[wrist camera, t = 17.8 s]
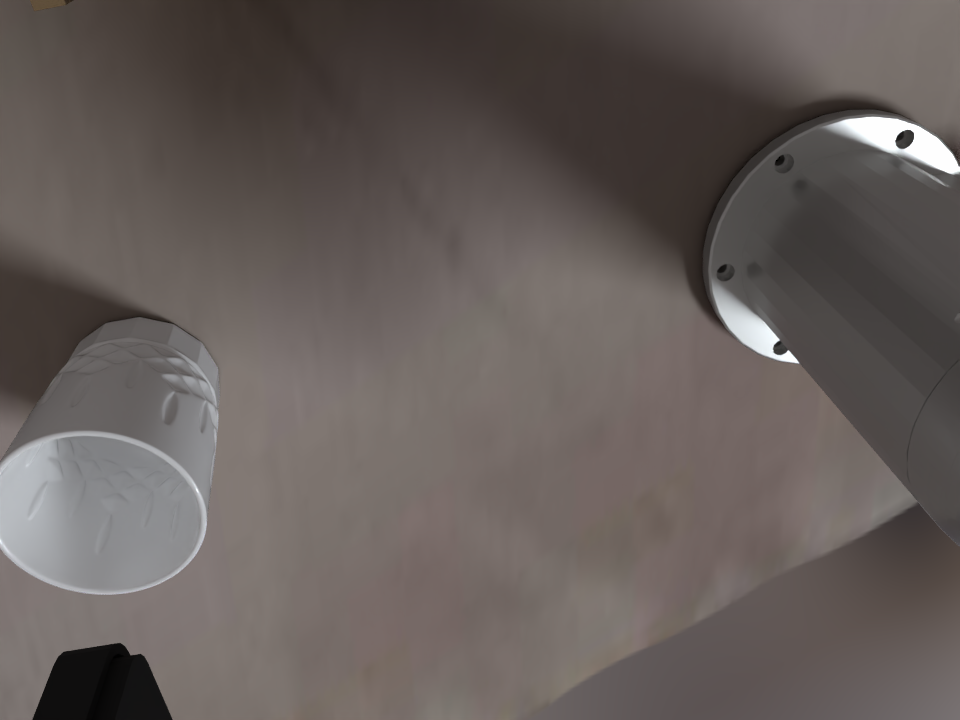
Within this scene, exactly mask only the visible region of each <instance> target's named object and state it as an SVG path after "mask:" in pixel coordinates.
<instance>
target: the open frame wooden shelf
mask: <svg viewBox="0 0 960 720" xmlns="http://www.w3.org/2000/svg"><path fill="white" fill-rule="evenodd" d="M72 1H73V0H30V2H31V4H32V7H33V9H34V11H38V10H43V9H48V8H53V7H58V6H63V5H67V4H68V3H70V2H72Z"/></svg>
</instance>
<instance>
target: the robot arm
mask: <svg viewBox="0 0 960 720" xmlns="http://www.w3.org/2000/svg"><path fill="white" fill-rule="evenodd" d="M779 156H781V157H780V159H779V160H778V161H777V162H775V161H776V160H777V159H778V157H779ZM722 265H723V266H722ZM721 266H722V267H721ZM720 267H721V268H720ZM719 268H720V269H719ZM703 278H704V283H705V288H706V293H707V296H708V299H709V301H710V303H711V305H712V307H713V310H714V312H715V314H716V315H717V316H718V318H719V319H720V321H721V322H722V323H723V325H724V326H725V328H726V329H727V330H728V331H729V332H730V333H731V334H732V335H733V336H734V337H735V338H736V339H737V340H738V341H739V342H740V343H741V344H742V345H744V346H745V347H747V348H749V349H750V350H752V351H753V352H755V353H757V354H758V355H761V356H764V357H766V358H769V359H772V360H775V361H780V362H787V363H794V364H801V365H802V367H803V368H804V369H805V370H806V371H807V372H808V374H809V375H810V376H811V377H812V378H813V379H814V381H815V382H816V383H817V384H818V385H819V386H820V388H821V389H822V390H823V391H824V392H825V394H826V395H827V396H828V397H829V398H830V399H831V401H832V402H833V403H834V404H835V405H836V406H837V408H838V409H839V410H840V411H841V412H842V413H843V415H844V416H845V417H846V418H847V419H848V420H849V422H850V423H851V424H852V425H853V426H854V427H855V429H856V430H857V431H858V432H859V433H860V434H861V436H862V437H863V438H864V439H865V440H866V441H867V443H868V444H869V445H870V446H871V447H872V448H873V450H874V451H875V452H876V453H877V454H878V456H879V457H880V458H881V459H882V460H883V461H884V463H885V464H886V465H887V466H888V467H889V468H890V470H891V471H892V472H893V473H894V474H895V475H896V477H897V478H898V479H899V480H900V481H901V482H902V484H903V485H904V486H905V487H906V488H907V489H908V491H909V492H910V493H911V494H912V495H913V496H914V498H915V499H916V500H917V501H918V502H919V503H920V505H921V506H922V507H923V509H924V510H925V511H926V512H927V513H928V514H929V516H930V517H931V518H932V519H933V520H934V521H935V522H936V524H937V525H938V526H939V527H940V528H941V529H942V530H943V531H944V532H945V533H946V534H947V535H948V536H949V537H950V538H951V539H952V540H953V541H954V542H955V543H956V544H957V545H958V546H960V165H959V163H958V161H957V159H956V157H955V155H954V153H953V152H952V151H951V150H950V148H949V147H948V146H947V145H946V144H945V143H944V142H943V141H942V140H941V139H940V138H939V136H937V135H936V134H934V133H933V132H931V131H930V130H928V129H926V128H925V127H923V126H922V125H920V124H918V123H916V122H914V121H912V120H910V119H907V118H905V117H903V116H901V115H898V114H894V113H889V112H884V111H879V110H846V111H841V112H836V113H831V114H826V115H822V116H820V117H817V118H815V119H812V120H810V121H807V122H805V123H802V124H800V125H797V126H796V127H794V128H792V129H791V130H789V131H787V132H786V133H784V134H782V135H781V136H779V137H777V138H776V139H774V140H772V141H771V142H770V143H769V144H768V145H767V146H765V147H764V148H763V149H762V150H761V151H759V152H758V153H757V154H756V155H755V156H753V157H752V158H751V159H750V160H749V161H748V163H747V164H746V165H745V166H744V167H743V168H742V169H741V171H740V172H739V173H738V174H737V175H736V176H735V177H734V179H733V180H732V181H731V183H730V185H729V186H728V188H727V189H726V191H725V193H724V194H723V196H722V197H721V199H720V201H719V202H718V204H717V207H716V209H715V212H714V214H713V216H712V219H711V221H710V224H709V226H708V230H707V235H706V239H705V244H704V249H703ZM33 720H172V717H171V715H170V713H169V710H168V708H167V706H166V704H165V701H164V699H163V697H162V694H161V692H160V690H159V687H158V685H157V683H156V680H155V678H154V676H153V674H152V671H151V669H150V667H149V664H148V662H147V660H146V659H145V657H144V656H143V655H141V654H138V655H131V656H130V654H129V652H128V650H127V649H126V647H125V646H124V645H122V644H121V643H117V644H110V645H104V646H97V647H91V648H85V649H79V650H72V651H66V652H63V653H62V654H61V655H60V656H59V657H58V658H57V660H56V662H55V664H54V666H53V668H52V671H51V673H50V676H49V679H48V681H47V684H46V686H45V689H44V691H43V694H42V697H41V699H40V702H39V704H38V707H37V709H36V712H35V714H34V717H33Z"/></svg>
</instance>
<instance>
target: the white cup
mask: <svg viewBox="0 0 960 720" xmlns="http://www.w3.org/2000/svg"><path fill="white" fill-rule="evenodd" d="M219 400H220V389H219V373H218V367H217V366H216V364H215V362H214V361H213V359H212V358H211V356H210V355H209V353H208V351H207V350H206V348H205V347H204V345H203V344H202V342H200V341H199V340H197V339H196V338H194V337H193V336H191V335H190V334H188V333H187V332H185V331H184V330H182V329H180V328H179V327H177V326H176V325H174V324H171V323H166V322H161V321H156V320H152V319H147V318H142V317H136V318H131V319H125V320H120V321H114V322H108V323H105V324H104V325H102V326H101V327H99V328H98V329H97V330H95V331H94V332H92V333H91V334H90V335H88V336H87V337H85V338H84V339H83V340H81V341H80V342H79V344H78V345H77V347H76V349H75V350H74V352H73V354H72V355H71V357H70V359H69V360H68V362H67V364H66V365H65V366H64V367H63V368H62V369H61V370H60V372H59V373H58V374H57V375H56V376H55V377H54V379H53V380H52V382H51V383H50V385H49V386H48V388H47V389H46V391H45V393H44V394H43V395H42V397H41V398H40V399H39V401H38V402H37V404H36V405H35V407H34V408H33V410H32V411H31V413H30V414H29V416H28V418H27V419H26V421H25V422H24V424H23V426H22V427H21V429H20V430H19V432H18V434H17V435H16V437H15V438H14V440H13V442H12V443H11V445H10V446H9V448H8V450H7V451H6V453H5V454H4V456H3V457H2V459H1V461H0V549H1V550H2V552H3V553H4V554H5V555H6V556H7V557H8V558H9V559H10V560H11V561H12V562H13V563H15V564H16V565H17V566H18V567H20V568H21V569H22V570H24V571H25V572H27V573H29V574H30V575H32V576H34V577H36V578H37V579H39V580H42V581H44V582H46V583H48V584H51V585H54V586H56V587H59V588H63V589H66V590H70V591H75V592H80V593H87V594H100V595H111V594H124V593H130V592H135V591H140V590H143V589H147V588H150V587H153V586H155V585H158V584H160V583H162V582H164V581H166V580H168V579H170V578H171V577H173V576H174V575H176V574H177V573H179V572H180V571H181V570H182V569H183V568H185V567H186V566H187V565H188V564H189V563H190V561H191V560H192V559H193V558H194V556H195V555H196V554H197V552H198V550H199V548H200V547H201V544H202V542H203V539H204V536H205V532H206V526H207V518H208V509H209V501H210V493H211V486H212V479H213V471H214V464H215V451H216V441H217V431H218V418H219V413H218V407H219Z"/></svg>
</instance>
